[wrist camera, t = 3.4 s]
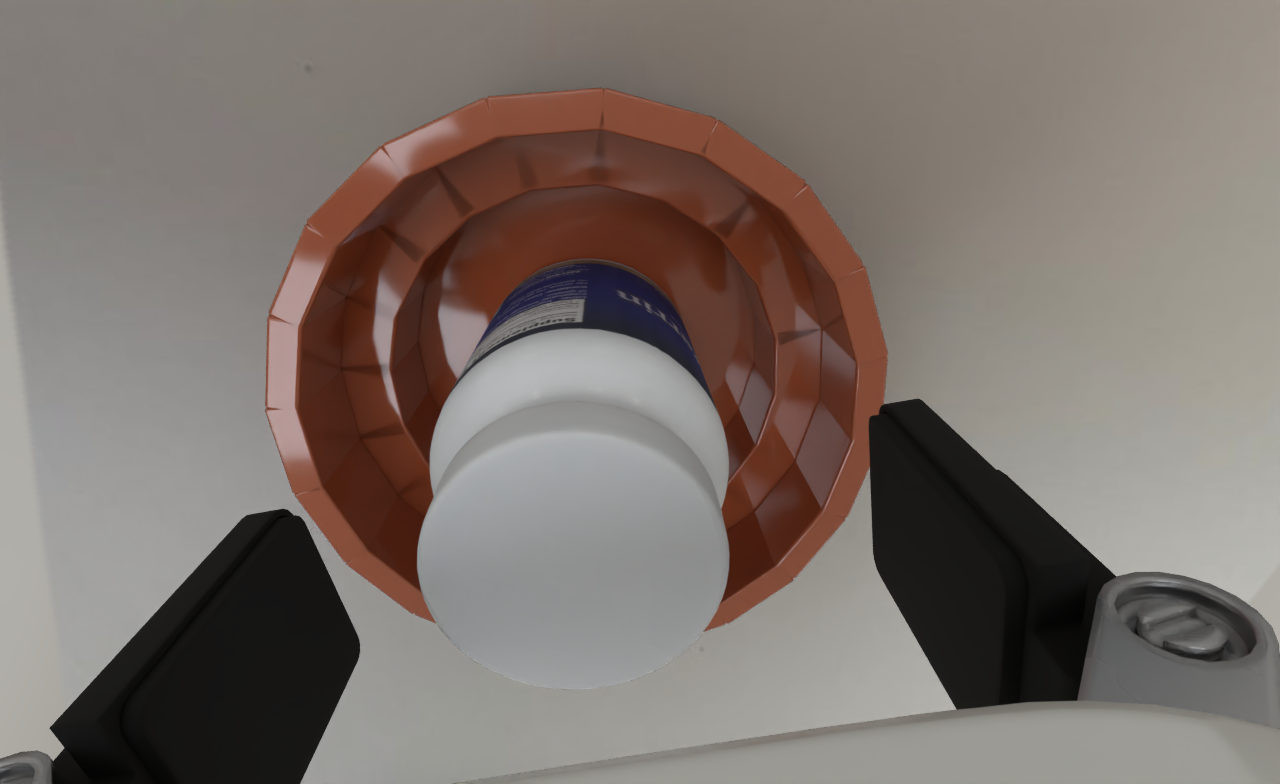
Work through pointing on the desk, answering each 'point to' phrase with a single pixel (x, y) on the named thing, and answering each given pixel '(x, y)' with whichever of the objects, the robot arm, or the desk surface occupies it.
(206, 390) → the desk surface
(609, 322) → the pill bottle
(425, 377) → the bowl
